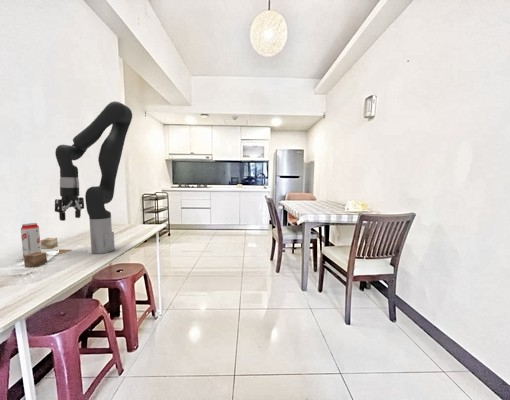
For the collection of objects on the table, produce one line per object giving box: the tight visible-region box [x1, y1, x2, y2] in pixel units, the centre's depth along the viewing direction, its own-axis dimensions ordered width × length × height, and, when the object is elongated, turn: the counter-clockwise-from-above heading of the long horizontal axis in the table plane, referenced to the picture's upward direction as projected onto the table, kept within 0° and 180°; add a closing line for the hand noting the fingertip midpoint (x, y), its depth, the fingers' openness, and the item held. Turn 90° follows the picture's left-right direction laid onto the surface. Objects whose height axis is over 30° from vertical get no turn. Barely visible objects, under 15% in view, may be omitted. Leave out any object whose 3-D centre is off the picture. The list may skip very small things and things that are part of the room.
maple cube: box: [40, 237, 59, 250], centre depth 128 cm, size 5×5×5 cm
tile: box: [55, 248, 75, 256], centre depth 119 cm, size 8×8×1 cm
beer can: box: [20, 222, 42, 259], centre depth 111 cm, size 6×6×16 cm
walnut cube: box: [23, 251, 48, 268], centre depth 102 cm, size 5×5×5 cm
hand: (70, 219), depth 118 cm, fingers open, 8 cm apart
